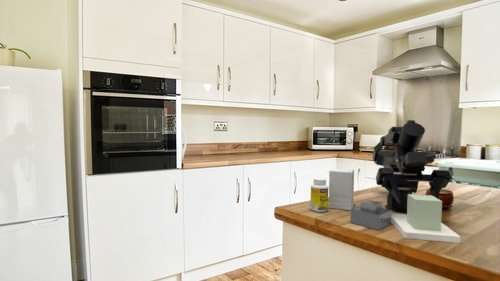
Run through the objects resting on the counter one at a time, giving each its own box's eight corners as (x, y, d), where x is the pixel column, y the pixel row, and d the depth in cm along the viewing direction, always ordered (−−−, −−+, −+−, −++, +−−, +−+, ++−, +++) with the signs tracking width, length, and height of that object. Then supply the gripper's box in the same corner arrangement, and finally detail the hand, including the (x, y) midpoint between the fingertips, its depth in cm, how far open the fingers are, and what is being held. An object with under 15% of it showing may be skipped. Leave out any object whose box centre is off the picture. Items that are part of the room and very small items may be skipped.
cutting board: (388, 218, 86) (388, 213, 86) (432, 221, 84) (433, 216, 84) (404, 238, 71) (405, 232, 71) (460, 243, 68) (460, 236, 68)
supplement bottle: (319, 213, 90) (320, 180, 90) (306, 209, 95) (307, 178, 94) (331, 210, 93) (332, 179, 93) (318, 206, 98) (319, 176, 97)
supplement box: (353, 205, 100) (355, 169, 99) (351, 211, 93) (352, 172, 93) (332, 202, 103) (333, 167, 103) (328, 207, 97) (328, 170, 96)
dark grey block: (363, 216, 87) (364, 197, 87) (391, 223, 81) (391, 202, 81) (350, 222, 82) (351, 201, 82) (378, 230, 76) (379, 207, 76)
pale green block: (406, 221, 79) (407, 194, 78) (431, 223, 78) (432, 195, 77) (414, 229, 73) (415, 199, 73) (440, 231, 72) (442, 201, 71)
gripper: (379, 140, 85) (387, 185, 75) (450, 141, 81) (469, 189, 71) (373, 163, 93) (379, 206, 83) (437, 165, 89) (452, 211, 79)
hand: (418, 203), depth 79 cm, fingers open, 9 cm apart
